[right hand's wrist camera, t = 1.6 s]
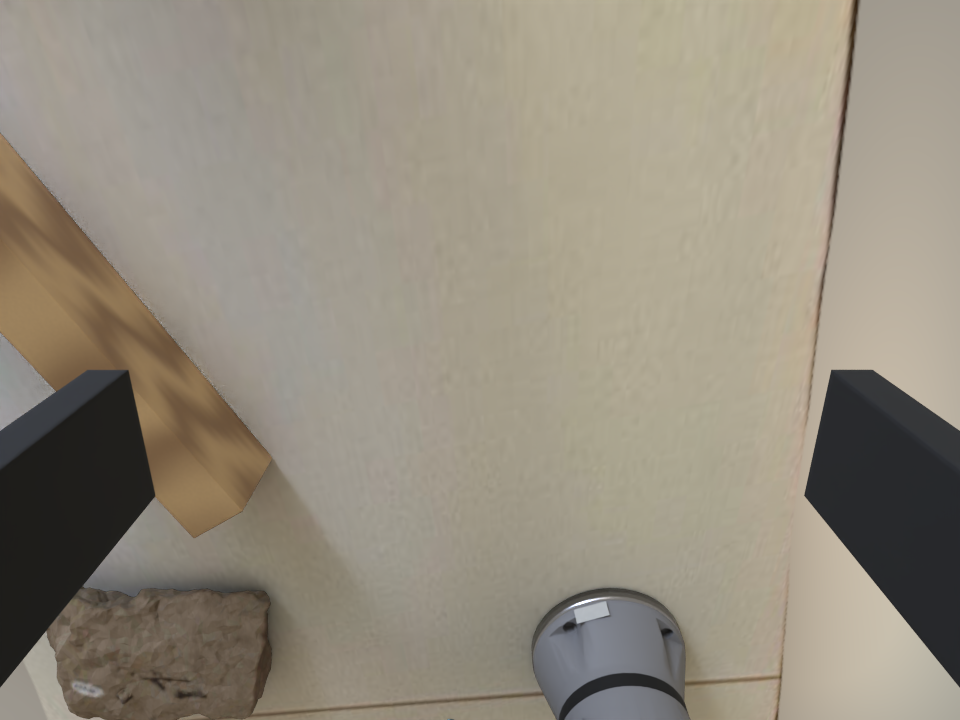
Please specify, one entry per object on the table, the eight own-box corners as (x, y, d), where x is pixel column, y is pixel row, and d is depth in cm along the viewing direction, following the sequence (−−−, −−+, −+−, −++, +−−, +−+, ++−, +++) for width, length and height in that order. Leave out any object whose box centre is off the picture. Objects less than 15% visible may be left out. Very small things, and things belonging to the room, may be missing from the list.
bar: (272, 458, 59) (242, 511, 52) (229, 482, 60) (193, 538, 53) (-216, -126, 43) (-365, -172, 35) (-265, -79, 44) (-419, -114, 36)
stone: (52, 704, 66) (23, 749, 60) (51, 566, 64) (21, 599, 58) (271, 696, 70) (263, 737, 65) (277, 566, 68) (270, 596, 62)
